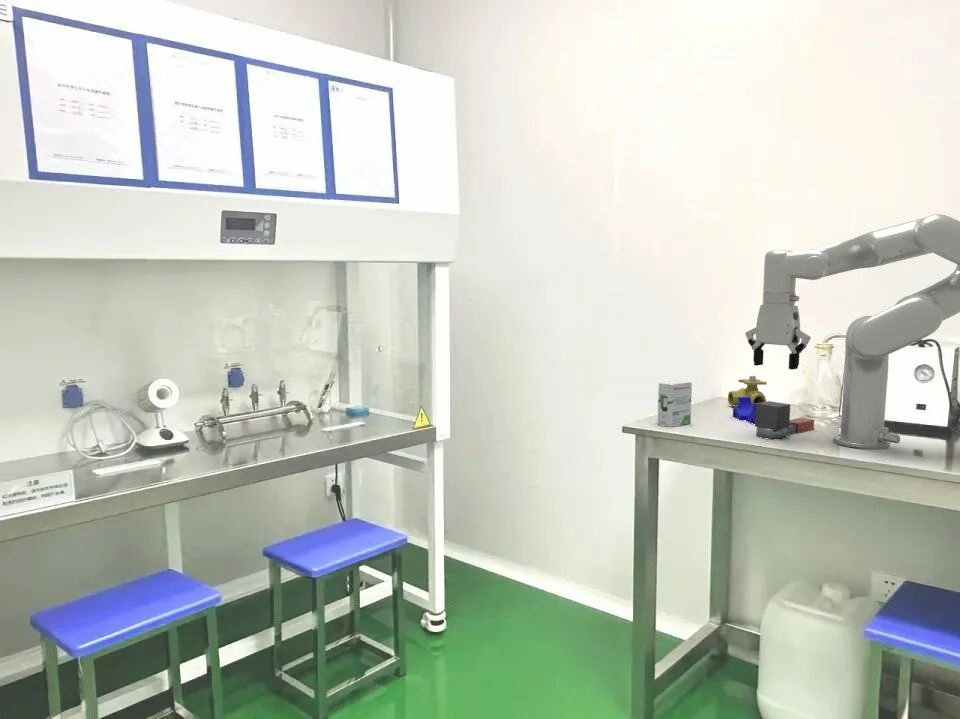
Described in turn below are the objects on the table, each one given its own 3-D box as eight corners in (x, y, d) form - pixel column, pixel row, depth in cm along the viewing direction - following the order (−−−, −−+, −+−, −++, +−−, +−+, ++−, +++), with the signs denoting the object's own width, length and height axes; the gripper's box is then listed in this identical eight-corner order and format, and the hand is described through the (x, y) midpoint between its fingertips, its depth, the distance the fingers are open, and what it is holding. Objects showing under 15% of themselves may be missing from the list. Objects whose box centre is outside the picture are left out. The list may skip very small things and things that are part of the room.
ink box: (677, 421, 217) (679, 379, 216) (691, 424, 213) (693, 381, 212) (656, 424, 212) (657, 382, 211) (670, 427, 208) (671, 384, 207)
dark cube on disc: (789, 427, 197) (790, 404, 196) (776, 430, 193) (777, 406, 192) (768, 423, 201) (769, 401, 201) (754, 426, 198) (756, 403, 197)
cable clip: (732, 417, 224) (733, 397, 223) (747, 417, 224) (748, 396, 224) (748, 425, 212) (749, 404, 211) (764, 425, 212) (765, 404, 212)
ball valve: (770, 411, 234) (772, 378, 233) (737, 411, 233) (738, 378, 232) (753, 403, 247) (754, 372, 245) (722, 403, 246) (723, 372, 245)
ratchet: (776, 440, 193) (777, 419, 192) (750, 435, 198) (751, 414, 198) (819, 430, 206) (821, 410, 205) (794, 425, 211) (795, 406, 211)
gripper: (819, 300, 189) (815, 369, 191) (756, 298, 202) (753, 362, 204) (803, 301, 184) (799, 371, 186) (739, 299, 198) (737, 364, 200)
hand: (775, 367), depth 195 cm, fingers open, 9 cm apart
